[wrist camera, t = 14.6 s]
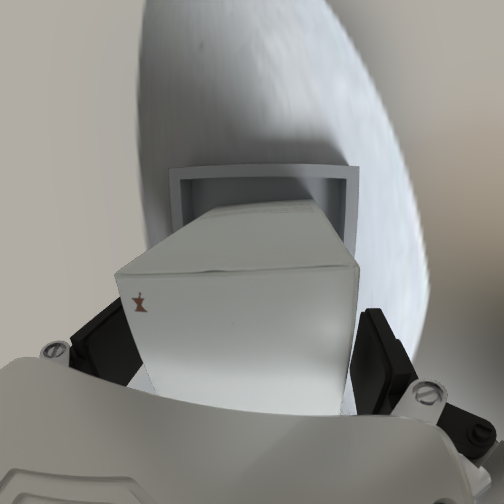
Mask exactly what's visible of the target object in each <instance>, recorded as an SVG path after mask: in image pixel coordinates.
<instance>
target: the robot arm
mask: <svg viewBox="0 0 504 504" xmlns="http://www.w3.org/2000/svg"><path fill="white" fill-rule="evenodd" d="M70 340H71V342H72V346H71V347H70V346H69V344H68V343H67V342H65V341H54V342H51V343H49V344H47V345H46V346H44V347H43V348H42V350H41V352H40V357H39V358H35V357H23V358H17V359H15V360H13V361H11V362H10V363H9V364H7V365H6V366H4V367H3V368H2V369H0V504H504V441H503V440H501V441H500V442H498V441H497V440H496V430H495V428H494V426H493V425H492V424H491V423H490V422H489V421H487V420H485V419H483V418H481V417H478V416H476V415H474V414H471V413H469V412H467V411H464V410H462V409H460V408H458V407H455V406H453V405H451V404H449V403H447V402H446V401H447V396H448V394H447V390H446V389H445V387H444V386H443V385H442V384H441V383H440V382H438V381H436V380H433V379H429V378H422V379H419V378H418V376H417V374H416V372H415V370H414V368H413V365H412V363H411V361H410V359H409V357H408V355H407V353H406V351H405V349H404V347H403V345H402V343H401V341H400V340H399V339H396V338H395V336H394V334H393V332H392V330H391V328H390V326H389V324H388V322H387V320H386V318H385V316H384V314H383V312H382V310H381V309H380V308H367V309H366V310H365V312H361V314H360V320H359V325H358V330H357V335H356V340H355V345H354V350H353V354H352V359H351V363H350V376H351V381H352V387H353V392H354V398H355V404H356V410H357V415H292V414H274V413H262V412H252V411H243V410H235V409H227V408H221V407H214V406H208V405H202V404H197V403H191V402H186V401H181V400H176V399H172V398H167V397H163V396H159V395H155V394H150V393H147V392H143V391H139V390H136V389H132V388H129V387H126V386H127V385H128V383H129V382H130V380H131V379H132V378H133V377H134V375H135V374H136V373H137V371H138V370H139V368H140V367H141V366H142V364H143V361H142V359H141V356H140V354H139V351H138V349H137V346H136V343H135V341H134V338H133V335H132V332H131V330H130V327H129V324H128V321H127V318H126V315H125V311H124V308H123V305H122V301H121V298H120V297H119V298H118V299H116V300H115V301H114V302H113V303H111V304H110V305H109V306H108V307H107V308H105V309H104V310H103V311H102V312H100V313H99V314H98V315H97V316H95V317H94V318H93V319H92V320H91V321H89V322H88V323H87V324H86V325H84V326H83V327H82V328H81V329H80V330H79V331H77V332H76V333H75V334H74V335H73V336H71V337H70Z"/></svg>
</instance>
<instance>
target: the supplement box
mask: <svg viewBox="0 0 504 504" xmlns="http://www.w3.org/2000/svg"><path fill="white" fill-rule="evenodd" d="M114 276H115V279H116V283H117V286H118V290H119V293H120V298H121V301H122V305H123V308H124V311H125V315H126V318H127V321H128V324H129V327H130V330H131V332H132V335H133V338H134V341H135V343H136V346H137V349H138V351H139V354H140V356H141V359H142V361H143V364H144V366H145V368H146V371H147V373H148V376H149V378H150V380H151V382H152V385H153V387H154V389H155V391H156V393H157V395H159V396H163V397H167V398H172V399H176V400H181V401H186V402H191V403H197V404H202V405H208V406H214V407H221V408H227V409H235V410H243V411H252V412H262V413H274V414H292V415H339V414H340V409H341V404H342V399H343V394H344V389H345V384H346V379H347V373H348V368H349V362H350V356H351V349H352V342H353V335H354V328H355V319H356V311H357V301H358V290H359V279H360V267H359V265H358V263H357V262H356V260H355V259H354V258H353V257H352V255H351V254H350V253H349V251H348V250H347V248H346V247H345V245H344V244H343V242H342V241H341V239H340V237H339V236H338V234H337V233H336V231H335V230H334V228H333V227H332V225H331V223H330V222H329V220H328V219H327V217H326V216H325V214H324V213H323V211H322V210H321V208H320V207H319V206H318V204H317V203H316V202H315V200H314V199H304V200H283V201H270V202H257V203H246V204H236V205H226V206H216V207H215V208H213V209H212V210H210V211H208V212H206V213H205V214H203V215H202V216H200V217H199V218H197V219H195V220H194V221H192V222H191V223H189V224H187V225H186V226H184V227H183V228H181V229H179V230H178V231H176V232H175V233H173V234H172V235H170V236H169V237H167V238H166V239H164V240H163V241H161V242H160V243H158V244H157V245H155V246H154V247H152V248H151V249H149V250H147V251H146V252H144V253H143V254H141V255H140V256H139V257H137V258H136V259H134V260H133V261H131V262H130V263H128V264H127V265H125V266H124V267H123V268H121V269H120V270H119V271H117V272H116V273H115V275H114Z"/></svg>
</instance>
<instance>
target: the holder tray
mask: <svg viewBox="0 0 504 504" xmlns="http://www.w3.org/2000/svg"><path fill="white" fill-rule="evenodd" d="M168 171H169V190H170V204H171V217H172V229H173V233H175V232H176V231H178V230H179V229H181V228H183V227H184V226H186V225H187V224H189V223H191V222H192V221H194V220H195V219H197V218H199V217H200V216H202V215H203V214H205V213H206V212H208V211H210V210H212V209H213V208H215V207H216V206H226V205H236V204H246V203H257V202H270V201H283V200H304V199H314V200H315V202H316V203H317V204H318V206H319V207H320V208H321V210H322V211H323V213H324V214H325V216H326V217H327V219H328V220H329V222H330V223H331V225H332V227H333V228H334V230H335V231H336V233H337V234H338V236H339V237H340V239H341V241H342V242H343V244H344V245H345V247H346V248H347V250H348V251H349V253H350V254H351V255H352V257H353V258H354V255H355V245H356V233H357V218H358V199H359V166H344V165H324V164H229V165H209V166H193V167H180V168H169V169H168Z"/></svg>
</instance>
